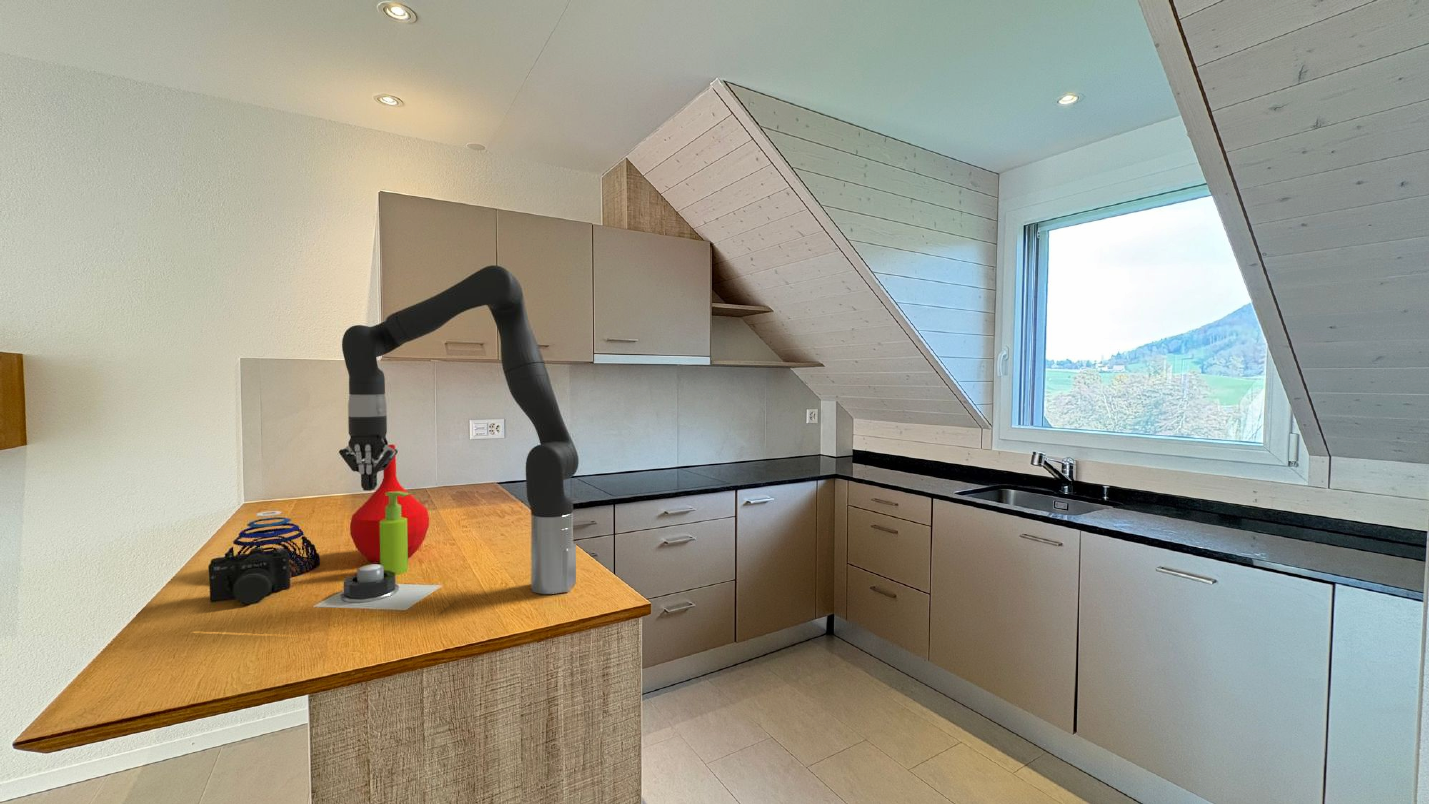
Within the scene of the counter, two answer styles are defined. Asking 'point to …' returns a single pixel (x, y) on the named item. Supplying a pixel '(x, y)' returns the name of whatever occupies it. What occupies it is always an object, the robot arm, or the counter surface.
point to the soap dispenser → (394, 536)
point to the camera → (249, 575)
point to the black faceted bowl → (369, 589)
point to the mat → (398, 601)
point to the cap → (370, 573)
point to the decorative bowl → (279, 542)
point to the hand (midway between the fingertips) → (369, 490)
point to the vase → (373, 512)
